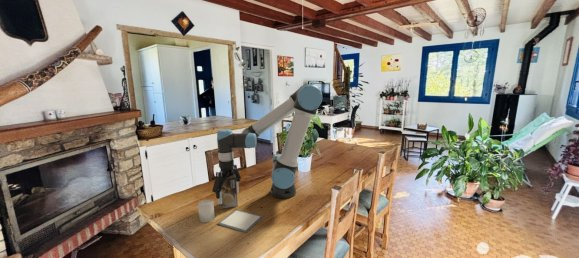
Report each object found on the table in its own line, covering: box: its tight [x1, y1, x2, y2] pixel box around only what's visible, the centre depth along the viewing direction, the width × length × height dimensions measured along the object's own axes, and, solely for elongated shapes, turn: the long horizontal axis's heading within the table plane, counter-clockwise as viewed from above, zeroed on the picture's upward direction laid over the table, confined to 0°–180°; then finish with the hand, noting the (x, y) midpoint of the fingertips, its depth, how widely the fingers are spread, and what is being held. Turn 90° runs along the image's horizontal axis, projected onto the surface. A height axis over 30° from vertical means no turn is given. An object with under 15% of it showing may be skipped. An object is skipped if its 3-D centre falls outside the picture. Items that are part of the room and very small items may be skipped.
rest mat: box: [217, 208, 264, 234], centre depth 116 cm, size 14×16×1 cm
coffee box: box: [219, 174, 239, 210], centre depth 130 cm, size 9×6×16 cm
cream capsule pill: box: [197, 199, 216, 224], centre depth 117 cm, size 7×7×8 cm
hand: (228, 197), depth 130 cm, fingers open, 13 cm apart
